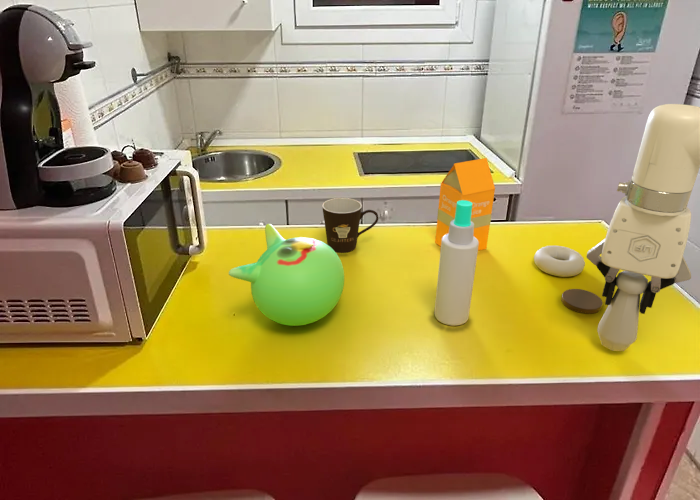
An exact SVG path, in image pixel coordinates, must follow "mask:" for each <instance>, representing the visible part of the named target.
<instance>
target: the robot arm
mask: <svg viewBox="0 0 700 500" xmlns="http://www.w3.org/2000/svg"><path fill="white" fill-rule="evenodd" d="M699 171H700V106H697V105H692V104H684V103H683V104H682V103H665V104H660V105H658V106H656V107H654V108H653V109H652V110H651V111H650V113H649V114H648V117H647V120H646V123H645V127H644V131H643V135H642V138H641V142H640V146H639V149H638V153H637V157H636V160H635V164H634V167H633V172H632V175H631V179H630V180H628V181H624V182H620V181H619V182H618V185H617V189H616V192H621V193H622V194H624V196H623V197H621V198H620V201H619V202H618V204H617V206H616V207H615V210H614V212H613V215H612V218H611V220H610V222H609V226H608V229H607V231H606V234H605V237H604V239H602V240H601V241H600V242H598V243H597V244H596V245H594V246H593V247H592V248H590V249H589V250H588V251H587V252H586V259H587V260H588V261H590V262H591V263H592V265H595V267H596V268H597V270H598V271H599V272H600V273H601V275H602V277H604V281H605V282H604V286H603V289H602V294H601V297H603V298H605V302H604V305H605V306H608V305H610V304H611V300H612V298H613V296H614V294H615V291H616V287H617V286H616V279H617V276H618V274H619V273H620V270H621V271H629V272H634V273H638V274H643V275H644V276H648V277H650V280H648V284H647V289H646V291H645V292H643V293H642V294H641V295H642V296H641V297H640V305H639V313H640V314H641V315H645V314H646V310H647V308H650V309H652V308H653V304H654V301H655V298H656V295H657V294H658V293H660V291H661V290H663V289H666V288H668V287H670V286H673V285H674V284H679V283H682V282H686V281H690V280H691V279H692V273H691V270H690V268H689V266H688V264H687V261H686V260H685V257H684V255H685V254H684V253H685V250H686V246H687V242H688V238H689V235H690V229H691V223H692V212H691V209H690V208H689V207H688V204H689V201H690V198H691V195H692V192H693V189H694V186H695V183H696V180H697V177H698V174H699Z"/></svg>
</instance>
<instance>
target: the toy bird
mask: <svg viewBox="0 0 700 500" xmlns="http://www.w3.org/2000/svg"><path fill="white" fill-rule="evenodd" d="M264 236H265V241H266V242H265V243H266V250H265V251H264V252H263V253H262V254H261V255H260V257H259V258H258V259H257V261H256V262H252V263H248V264H244V265H243V264H242V265H238V266H236V267H232V268H231V269H230V270H229V271H228V275H229V276H230V277H231V278H233V279H237V280H240V281H245V282H249V283H250V292H251V296H252V300H253V301H254V304H255V306H256V308H257V309H258V310H259V311H260V312H261V313H262V314H263V315H264V317H266V318H268V319H269V320H270V321H273V322H275V323H277V324H280V325H283V326H284V325H285V326H290V327H293V326H294V327H299V326H306V325H309V324H312V323H315V322H317V321H319V320H321V319H323V318H324V317H326V316H327V315H328V314H330V313H331V312H332V311H333V309H335V307H336V306H337V304H338V303H339V301H340V299H341V297H342V294H343V290H344V287H345V270H344V266H343V263H342V260H341V258H340V256H339V255H338V253H337V252H335V251H334V250H333V249H332V248H331V247H330V246H328V244H327V243H325V242H324V241H322V240H319V239H316V238H312V237H307V236H306V237H303V236H299V237H298V236H297V237H291V238H287V239H285V238H284V237H283V236H282V235H281V233H280V232H279V231H278V229H276V228H275V226H274V225H273V224H271V223H267V224H265V226H264Z"/></svg>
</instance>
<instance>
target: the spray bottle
mask: <svg viewBox="0 0 700 500" xmlns="http://www.w3.org/2000/svg"><path fill="white" fill-rule="evenodd" d="M471 213H472V202H470V201H466V200H460V201H457V205H456V212H455V219H454V220H452V221H451V222H450V228H449V234H446V235H444V236H443V237H442V242H441V247H440V253H439V262H438V273H437V282H436V283H437V284H436V293H435V304H434V317H435V319H436V320H437V321H438V322H439V323H442V324H444V325H447V326H450V327H451V326H452V327H457V326H462V325H464V324H466V323H467V322H468V320H469V317H470V310H471V303H472V298H473V297H472V295H473V289H474V280H475V273H476V266H477V260H478V259H477V258H478V253H479V251H478V245H479V242H478V240H477V238H475V237H474V236H473V234H474V223H473V222H472V221H471Z"/></svg>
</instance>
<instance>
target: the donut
mask: <svg viewBox="0 0 700 500" xmlns="http://www.w3.org/2000/svg"><path fill="white" fill-rule="evenodd" d="M533 262H534V264H535V265H536V267H537V268H538V269H539V270H540V271H542V272H544V273H546V274H548V275H552V276H555V277H563V278H568V277H570V278H571V277H574V276H578V275H579V274H580V273H582V271H583V270H584V269H585V266H586V262H585V259H584V257H583V256H582V254H581V253H580V252H578V251H576V250H575V249H572V248H570V247H566V246H562V245H546V246H542V247H540V248H539V249H537V251H536V252H535V254H534V256H533Z"/></svg>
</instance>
